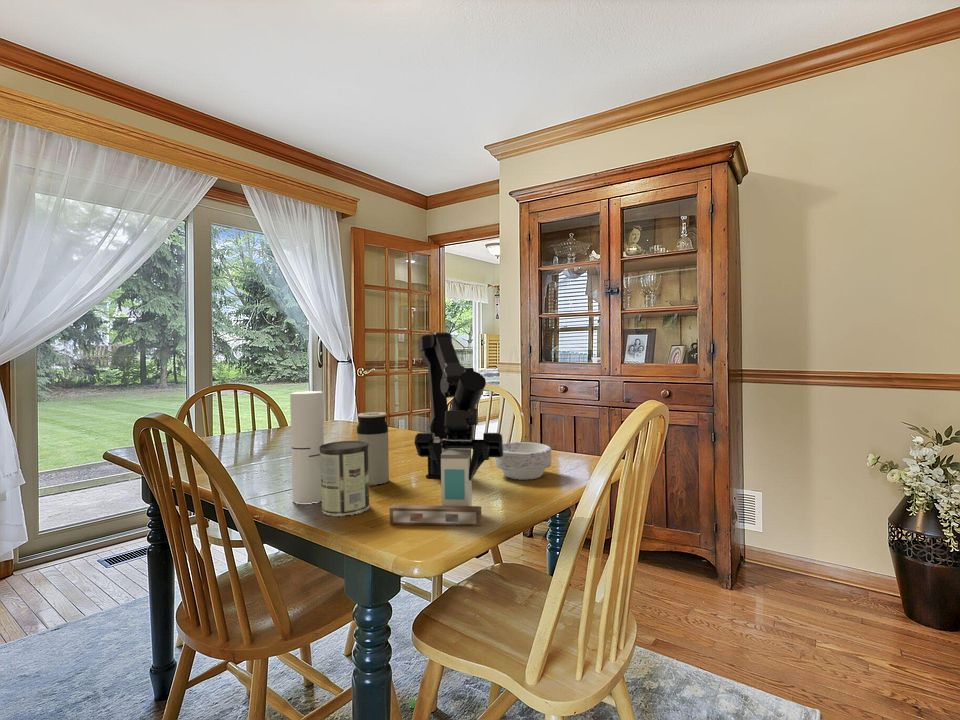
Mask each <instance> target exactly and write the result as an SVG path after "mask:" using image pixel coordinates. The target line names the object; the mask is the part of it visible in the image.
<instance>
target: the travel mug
mask: <svg viewBox="0 0 960 720" xmlns="http://www.w3.org/2000/svg"><path fill="white" fill-rule="evenodd" d="M386 416H387V412H382V411H380V412H379V411H378V412H377V411H376V412H375V411H374V412H373V411H371V412H369V411H368V412H361V413H358V414H357V417H358V421H359V422H358V424H357V426H356V441H363V442H367V443H368V444H369V446H368V473H369V485H374V486H378V485H377V484H381V485H384V484H386V483H387V482H389V481H390V470H389V469H390V467H389V463H390V462H389V425H388V424H387V421H386ZM383 483H384V484H383Z"/></svg>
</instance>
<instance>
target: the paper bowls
mask: <svg viewBox="0 0 960 720" xmlns="http://www.w3.org/2000/svg"><path fill="white" fill-rule="evenodd" d="M494 464H495V467H497V468H498V469H501V471H502V473H503V475H504V476H505V477H506V478H508V479H513V480H517V479H518V480H519V481H528V480H529V479H530V480H535V479H538V478H541V477H542V476H543V474H544V472H545V470H546V469H549V468H551V466H552V448H551V446H549V445H547V444H544V443H538V442H531V441H530V442H529V441H528V442H526V441H522V442H521V441H520V442H519V441H518V442H517V441H516V442H515V441H514V442H506V443H503V456H502V457H494ZM518 480H517V481H518ZM530 480H529V481H530Z"/></svg>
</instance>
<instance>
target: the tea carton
mask: <svg viewBox="0 0 960 720" xmlns="http://www.w3.org/2000/svg"><path fill="white" fill-rule="evenodd" d="M471 459H472V449H445V450H444V451H443V453H442V454H441V478H440V484H441V485H440V486H441V487H440V488H441V489H440V490H441V492H440V493H441V494H440V495H441V497H440V498H441V506H473V501H472V500H473V497H472V496H473V492H472V490H473V489H472V487H473V486H472V484H473V483H472V482H473V481H472V480H473V479H472V480H471V481H469V469H470V464H471Z"/></svg>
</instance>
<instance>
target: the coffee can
mask: <svg viewBox="0 0 960 720" xmlns="http://www.w3.org/2000/svg"><path fill="white" fill-rule="evenodd" d="M368 446H369V444H368V443H367V442H363V441H357V440H341V441H332V442H329V443H324V445H321V446H320V447H319V449H320V464H321V496H322V502H321V513H322V512H323V513H324V514H329V515H335V516H334V517H338V516H340V517H346V516H345V515H351V516H355V515H354V514H356V515H359V514H363V513H365V512H367V511H368V510H370V507H371V506H370V505H371V504H370V486H369V473H368ZM364 511H365V512H364ZM323 513H322V514H323ZM358 513H359V514H358ZM324 514H323V515H324ZM337 515H338V516H337Z"/></svg>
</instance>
